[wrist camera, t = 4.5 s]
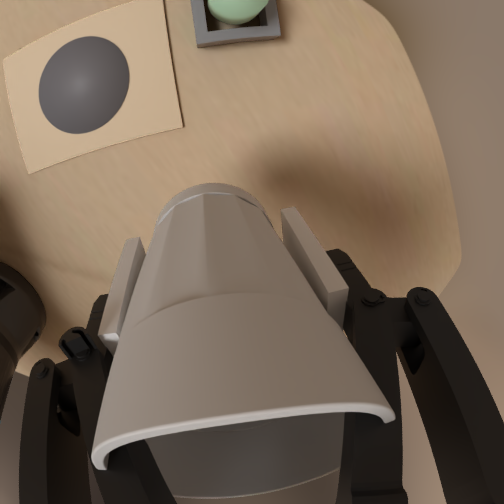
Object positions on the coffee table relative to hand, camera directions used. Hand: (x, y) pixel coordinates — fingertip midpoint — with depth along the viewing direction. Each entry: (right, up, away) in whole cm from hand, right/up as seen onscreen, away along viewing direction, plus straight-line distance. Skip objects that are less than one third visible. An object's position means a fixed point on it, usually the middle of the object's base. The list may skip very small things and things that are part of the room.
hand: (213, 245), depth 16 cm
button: (+1, +20, +2) cm, 20 cm away
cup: (0, 0, +1) cm, 1 cm away
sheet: (-14, +16, +6) cm, 22 cm away
